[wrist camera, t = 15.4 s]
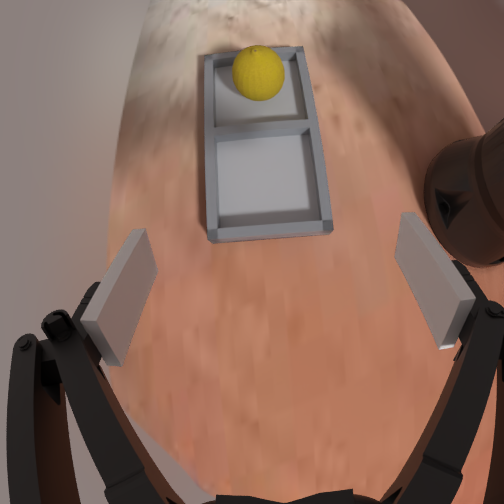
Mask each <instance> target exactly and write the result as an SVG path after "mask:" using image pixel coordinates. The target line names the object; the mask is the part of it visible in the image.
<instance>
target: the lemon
mask: <svg viewBox="0 0 504 504" xmlns="http://www.w3.org/2000/svg"><path fill="white" fill-rule="evenodd" d="M232 78H233V82H234V84H235V87H236V89H237V90H238V91H239V92H240V94H241V95H243V96H244V97H246V98H247V99H250V100H253V101H265V100H269V99H271V98H273V97H274V96H275V95H277V94H278V93H279V91H280V90H281V88H282V86H283V83H284V80H285V70H284V66H283V63H282V61H281V59H280V57H279V56H278V54H277V53H276V52H275V51H273V50H272V49H270V48H268V47H266V46H261V45H255V46H250V47H247V48H245V49H243V50H242V51H241V52H240V53H239V54H238V55H237V56H236V58H235V60H234V63H233V67H232Z"/></svg>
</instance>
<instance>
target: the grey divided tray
mask: <svg viewBox="0 0 504 504" xmlns="http://www.w3.org/2000/svg"><path fill="white" fill-rule="evenodd" d="M270 49H272V50H273V51H275V52H276V53H277V54H278V56H279V57H280V59H281V61H282V63H283V66H284V70H285V80H284V83H283V86H282V88H281V90H280V91H279V93H278V94H277V95H275V96H274V97H273V98H271V99H269V100H265V101H253V100H250V99H247V98H246V97H244V96H243V95H241V94H240V92H239V91H238V90H237V89H236V87H235V84H234V82H233V78H232V67H233V63H234V60H235V58H236V56H237V55H238V54H239V53H240V52H241V51H233V52H225V53H218V54H211V55H205V60H204V135H205V183H206V213H207V237H208V240H209V241H210V242H211V243H213V244H214V243H226V242H239V241H251V240H264V239H276V238H289V237H303V236H316V235H329V234H330V233H331V232H332V231H333V230H334V229H333V220H332V212H331V204H330V196H329V188H328V181H327V174H326V167H325V160H324V154H323V147H322V141H321V135H320V129H319V123H318V118H317V112H316V107H315V102H314V96H313V91H312V86H311V81H310V76H309V72H308V67H307V62H306V58H305V53H304V49H303V46H298V47H277V48H270Z"/></svg>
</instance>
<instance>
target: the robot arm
mask: <svg viewBox="0 0 504 504" xmlns="http://www.w3.org/2000/svg"><path fill="white" fill-rule="evenodd" d="M424 200H425V207H426V211H427V215H428V219H429V221H430V224H431V226H432V229H433V231H434V233H435V235H436V236H437V238H438V240H439V241H440V243H441V244H442V245H443V247H444V248H445V249H446V250H447V251H448V252H449V253H450V254H451V255H452V256H453V257H454V258H456V259H457V260H450V258H449V257H448V256H447V254H446V253H445V251H444V250H443V249H442V247H441V246H440V245H439V243H438V242H437V241H436V239H435V238H434V237H433V235H432V234H431V233H430V231H429V230H428V229H427V227H426V226H425V225H424V223H423V222H422V221H421V220H420V218H419V217H418V216H417V215H416V213H415V212H405V213H402V214H401V221H400V227H399V234H398V240H397V246H396V251H395V259H396V261H397V263H398V265H399V267H400V269H401V270H402V272H403V274H404V276H405V278H406V280H407V282H408V284H409V286H410V288H411V290H412V292H413V294H414V296H415V298H416V300H417V302H418V304H419V307H420V309H421V311H422V313H423V315H424V317H425V319H426V322H427V324H428V326H429V328H430V330H431V333H432V335H433V337H434V340H435V342H436V344H437V346H438V349H439V350H440V349H446V348H451V347H454V345H455V343H456V341H457V339H458V337H459V339H460V341H461V343H462V345H461V347H460V349H459V350H458V352H457V354H456V356H455V358H454V360H453V361H455V362H454V365H453V367H452V370H451V372H450V375H449V377H448V380H447V382H446V384H445V387H444V389H443V391H442V394H441V396H440V398H439V400H438V403H437V405H436V407H435V409H434V411H433V413H432V415H431V417H430V419H429V421H428V423H427V425H426V427H425V429H424V431H423V433H422V435H421V437H420V439H419V441H418V443H417V444H416V446H415V448H414V450H413V452H412V453H411V455H410V457H409V459H408V460H407V462H406V464H405V466H404V467H403V469H402V470H401V472H400V474H399V475H398V477H397V478H396V480H395V481H394V483H393V484H392V485H391V487H390V488H389V489H388V490H387V492H386V493H385V494H384V496H383V497H382V498H381V500H380V501H377V500H375V499H373V498H370V497H366V496H362V495H356V494H353V489H348V490H340V491H332V492H323V493H318V494H315V495H312V496H308V497H305V498H302V499H299V500H295V501H292V502H288V503H280V502H275V501H270V500H265V499H260V498H256V497H252V496H232V495H216V500H214V501H209V502H206V503H203V504H451V503H452V501H453V499H454V497H455V495H456V493H457V491H458V489H459V487H460V484H461V482H462V479H463V475H462V473H461V470H462V467H463V465H464V463H465V460H466V458H467V456H468V453H469V451H470V448H471V446H472V443H473V441H474V438H475V436H476V433H477V430H478V427H479V425H480V422H481V419H482V416H483V413H484V410H485V407H486V404H487V400H488V397H489V394H490V390H491V387H492V383H493V379H494V376H495V372H496V368H497V401H496V419H495V431H494V441H493V450H492V457H491V464H490V470H489V476H488V482H487V487H486V492H485V497H484V501H483V504H504V308H503V307H502V306H501V305H500V304H498V303H497V302H494V301H488V299H487V298H486V296H485V294H484V293H483V291H482V290H481V288H480V287H479V285H478V284H477V283H476V281H474V278H473V277H472V275H470V272H469V271H468V270H467V268H466V267H465V266H464V265H463V264H461V263H460V262H462V263H464V264H466V265H469V266H472V267H478V268H484V267H490V266H496V265H499V264H502V263H504V118H503V119H502V120H501V121H500V122H499V123H497V124H496V125H495V126H494V127H493V128H492V129H491V130H489V131H488V132H487V133H486V134H485V135H482V136H478V137H473V138H469V139H465V140H459V141H456V142H453V143H451V144H450V145H448V146H447V147H445V148H444V149H443V150H442V151H441V152H440V153H439V154H438V155H437V156H436V157H435V158H434V159H433V161H432V162H431V164H430V166H429V168H428V171H427V174H426V178H425V184H424ZM458 260H459V261H460V262H459V261H458ZM157 273H158V268H157V265H156V262H155V259H154V255H153V252H152V249H151V245H150V242H149V239H148V235H147V232H146V228H144V229H133V230H132V231H131V233H130V234H129V236H128V238H127V239H126V241H125V242H124V244H123V246H122V247H121V249H120V250H119V252H118V254H117V255H116V257H115V259H114V260H113V262H112V264H111V265H110V267H109V269H108V271H107V272H106V274H105V276H104V277H103V279H102V281H101V282H95V283H94V284H93V285H92V286H91V287H90V288H89V289H88V290H87V292H86V293H85V295H84V298H83V299H82V300H81V302H80V305H79V306H78V307H77V309H76V311H75V313H74V315H73V317H72V318H70V316H69V314H68V313H67V312H66V311H65V310H56V311H53V312H51V313H50V314H48V315H47V316H46V317H45V318H44V319H43V322H42V324H41V328H42V330H43V331H44V333H45V334H46V336H47V338H48V339H46V340H41V341H38V339H37V338H36V336H35V335H34V334H25V335H23V336H21V337H20V338H19V339H18V340H17V342H16V343H15V345H14V348H13V354H12V361H11V370H10V379H9V391H8V405H7V471H8V485H9V495H10V504H81V502H80V498H79V493H78V489H77V483H76V478H75V472H74V467H73V460H72V455H71V448H70V439H69V432H68V422H67V412H66V398H65V392H66V395H67V397H68V400H69V403H70V406H71V409H72V411H73V414H74V416H75V419H76V421H77V424H78V427H79V429H80V431H81V434H82V436H83V438H84V441H85V443H86V446H87V448H88V450H89V452H90V454H91V457H92V459H93V461H94V463H95V465H96V467H97V469H98V471H99V473H100V475H101V477H102V479H103V481H104V483H105V486H106V489H105V491H104V493H105V497H106V499H107V501H108V503H109V504H185V503H184V502H183V500H182V499H181V498H180V497H179V496H178V495H177V494H176V493H175V492H174V490H173V489H172V488H171V486H170V485H169V483H168V482H167V481H166V479H165V478H164V476H163V475H162V473H161V472H160V470H159V469H158V467H157V466H156V465H155V463H154V461H153V460H152V458H151V457H150V455H149V453H148V452H147V450H146V449H145V447H144V445H143V444H142V442H141V441H140V439H139V437H138V436H137V434H136V432H135V431H134V429H133V427H132V425H131V424H130V422H129V420H128V418H127V416H126V415H125V413H124V411H123V409H122V407H121V406H120V404H119V402H118V400H117V398H116V396H115V394H114V392H113V390H112V388H111V386H110V384H109V382H108V380H107V378H106V376H105V374H104V372H103V370H102V368H101V366H100V365H99V362H100V360H101V357H102V358H103V360H104V361H105V363H106V364H107V365H110V366H123V363H124V360H125V357H126V354H127V352H128V349H129V346H130V343H131V340H132V338H133V335H134V332H135V329H136V327H137V324H138V321H139V319H140V316H141V313H142V311H143V308H144V306H145V303H146V300H147V298H148V295H149V293H150V290H151V288H152V285H153V283H154V280H155V278H156V275H157Z"/></svg>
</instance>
